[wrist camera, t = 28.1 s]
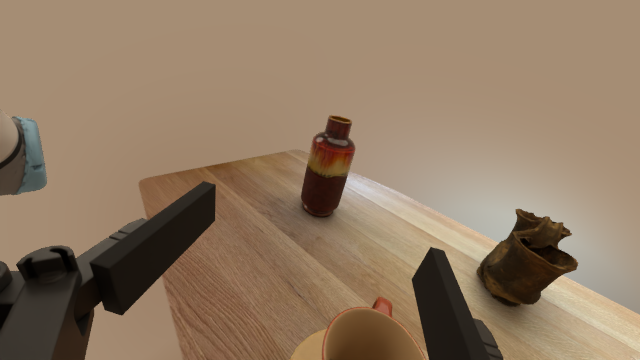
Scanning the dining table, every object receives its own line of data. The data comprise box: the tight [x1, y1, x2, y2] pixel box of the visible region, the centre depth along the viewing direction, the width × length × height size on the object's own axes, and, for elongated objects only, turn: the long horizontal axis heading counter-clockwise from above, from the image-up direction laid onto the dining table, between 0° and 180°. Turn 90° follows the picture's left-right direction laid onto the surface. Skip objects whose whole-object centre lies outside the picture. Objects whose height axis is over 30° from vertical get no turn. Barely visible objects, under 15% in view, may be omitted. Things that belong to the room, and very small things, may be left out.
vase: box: [301, 115, 355, 217], centre depth 62 cm, size 11×11×26 cm
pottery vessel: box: [477, 209, 578, 307], centre depth 50 cm, size 25×11×20 cm, turn 136°
